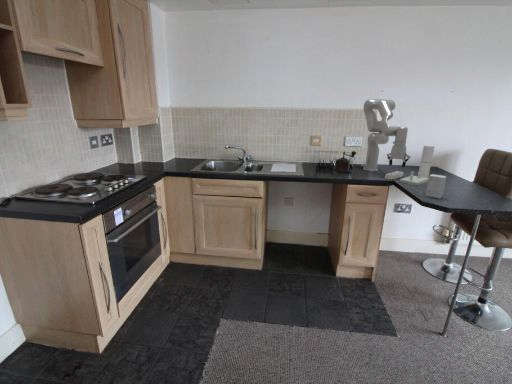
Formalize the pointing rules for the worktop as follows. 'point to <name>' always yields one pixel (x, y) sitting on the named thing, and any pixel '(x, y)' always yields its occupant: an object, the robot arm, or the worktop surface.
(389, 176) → the power strip
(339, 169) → the dark piece
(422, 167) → the tall grey block
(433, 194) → the small box
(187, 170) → the worktop surface
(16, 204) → the worktop surface
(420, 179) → the mount board
